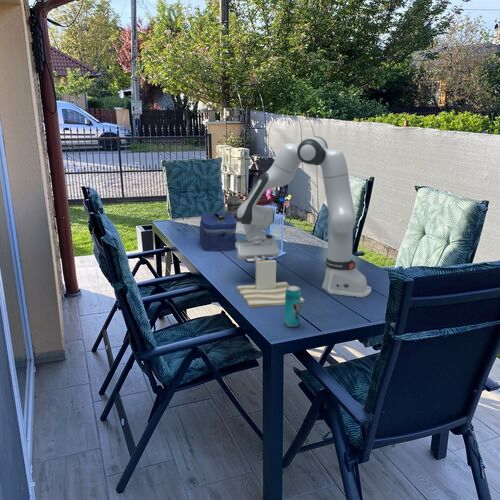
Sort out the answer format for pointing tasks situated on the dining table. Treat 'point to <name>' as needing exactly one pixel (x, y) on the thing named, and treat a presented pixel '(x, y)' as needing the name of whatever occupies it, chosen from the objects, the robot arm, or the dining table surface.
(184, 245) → the dining table surface
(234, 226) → the lunch bag
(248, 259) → the phone case
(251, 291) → the board
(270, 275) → the tile
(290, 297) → the beverage can
